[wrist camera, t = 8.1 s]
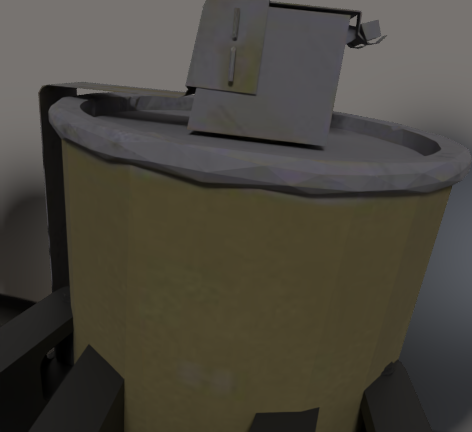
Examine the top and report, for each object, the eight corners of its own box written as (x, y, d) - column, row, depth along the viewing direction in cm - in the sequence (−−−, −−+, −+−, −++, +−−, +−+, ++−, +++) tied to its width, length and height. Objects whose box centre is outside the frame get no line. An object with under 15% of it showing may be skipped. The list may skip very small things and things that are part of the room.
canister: (317, 440, 22) (415, 44, 14) (353, 746, 12) (706, -9, 5) (123, 410, 22) (125, 12, 15) (4, 679, 12) (-154, -94, 5)
